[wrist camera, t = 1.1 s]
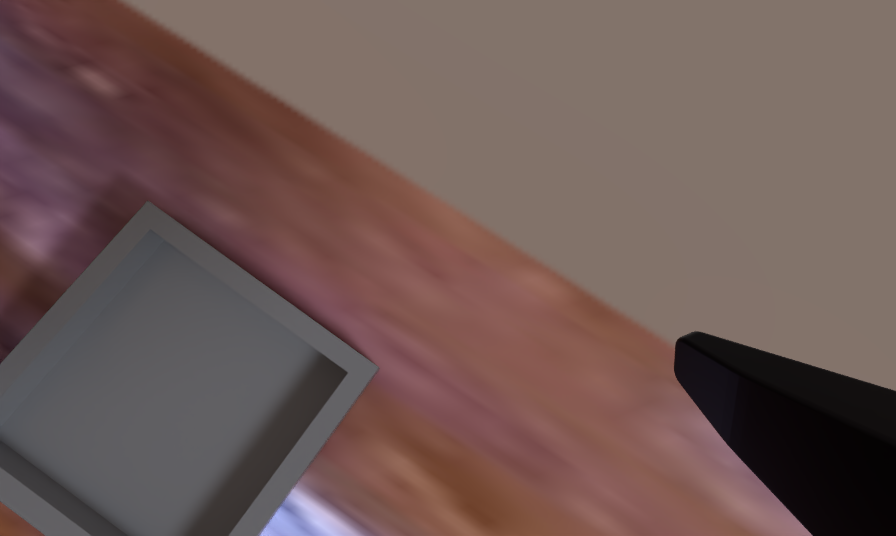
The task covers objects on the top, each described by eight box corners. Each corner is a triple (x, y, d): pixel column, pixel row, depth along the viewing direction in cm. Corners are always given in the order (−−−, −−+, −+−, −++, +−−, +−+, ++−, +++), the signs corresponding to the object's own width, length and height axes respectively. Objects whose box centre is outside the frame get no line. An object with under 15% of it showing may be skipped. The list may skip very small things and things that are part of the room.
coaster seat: (203, 613, 21) (182, 638, 19) (-29, 439, 21) (-74, 445, 19) (379, 368, 23) (378, 367, 21) (168, 216, 23) (147, 200, 21)
